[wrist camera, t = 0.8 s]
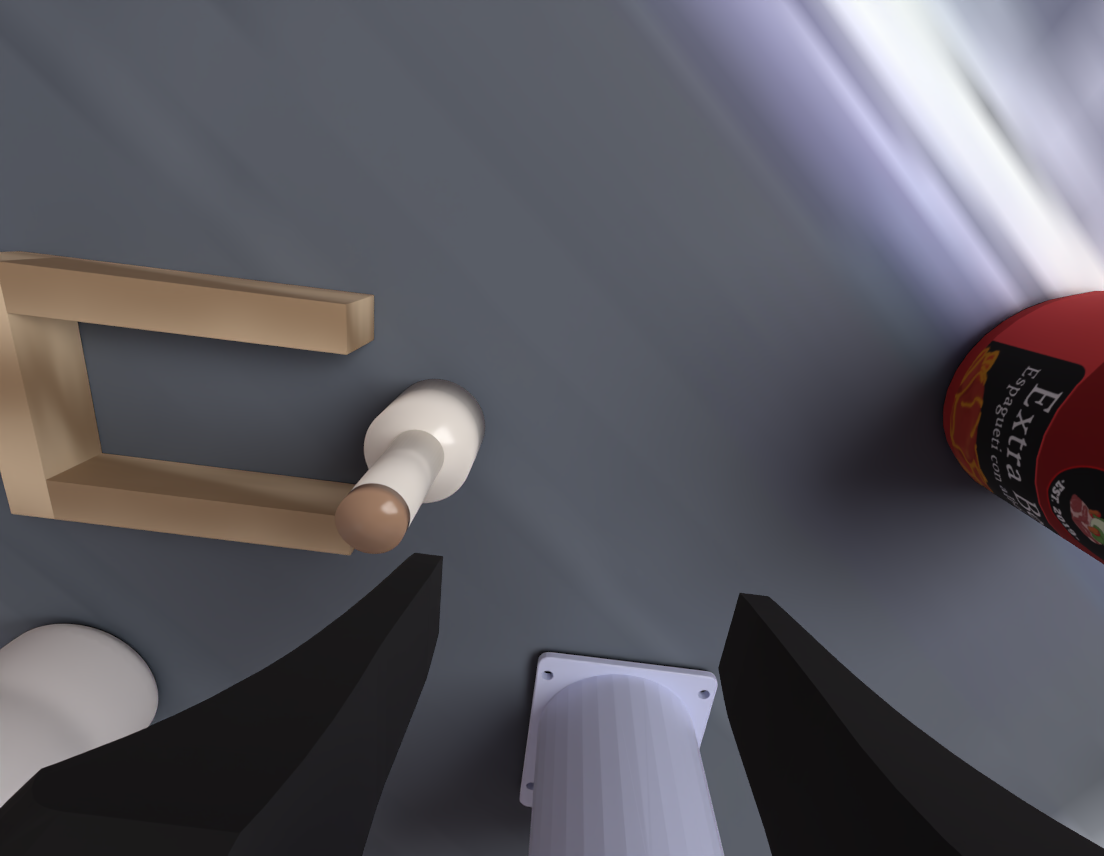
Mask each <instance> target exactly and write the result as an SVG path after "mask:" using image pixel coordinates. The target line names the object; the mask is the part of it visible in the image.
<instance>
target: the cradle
mask: <svg viewBox="0 0 1104 856" xmlns="http://www.w3.org/2000/svg"><path fill="white" fill-rule="evenodd" d="M77 321H78V322H86V323H95V324H103V325H111V326H119V327H127V328H135V329H143V330H151V331H159V332H167V333H175V334H184V335H192V336H200V337H208V338H216V339H224V340H232V341H240V342H248V343H256V344H264V345H273V346H281V347H289V348H297V349H305V350H313V351H321V352H329V353H337V354H345V355H347V354H349V353H351V352H353V351H354V350H356V349H358V348H360V347H362V346H363V345H365V344H367V343H369V342H371V341H372V340H374V295H369V294H361V293H353V292H345V291H337V290H329V289H321V288H313V287H305V286H297V285H288V284H280V283H272V282H264V281H256V280H248V279H240V278H232V277H224V276H216V275H208V274H200V273H192V272H183V271H175V270H167V269H159V268H151V267H143V266H135V265H127V264H119V263H111V262H103V261H95V260H87V259H78V258H70V257H62V256H54V255H46V254H38V253H30V252H22V251H16V252H0V472H1V475H2V479H3V483H4V487H5V491H6V495H7V498H8V502H9V506H10V510H11V514H18V515H26V516H34V517H42V518H50V519H59V520H67V521H75V522H83V523H91V524H99V525H107V526H116V527H124V528H132V529H140V530H148V531H156V532H164V533H173V534H181V535H189V536H197V537H205V538H213V539H221V540H230V541H238V542H246V543H254V544H262V545H270V546H279V547H287V548H295V549H303V550H311V551H319V552H327V553H336V554H344V555H351V553H352V552H353V550H354V549H355V548H353V547H351V546H350V545H349V544H347V543H346V542H345V541H344V540H343V539H342V537H341V536H340V534H339V532H338V530H337V528H336V524H335V513H336V510H337V507H338V506H339V504H340V503H341V502H342V500H343V499H344V498H345V497H346V496H347V495H348V493H349V492H350V491H351V490H352V489H353V487H354V486H355V485H356V484H349V483H341V482H333V481H324V480H316V479H308V478H300V477H292V476H284V475H276V474H267V473H259V472H251V471H243V470H235V469H227V468H219V467H211V466H202V465H194V464H186V463H178V462H170V461H162V460H154V459H146V458H137V457H129V456H121V455H113V454H105V453H102V450H101V445H100V439H99V434H98V429H97V423H96V418H95V412H94V407H93V402H92V396H91V391H90V386H89V380H88V375H87V370H86V364H85V359H84V354H83V348H82V343H81V338H80V332H79V327H78V322H77Z"/></svg>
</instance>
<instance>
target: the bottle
mask: <svg viewBox="0 0 1104 856" xmlns="http://www.w3.org/2000/svg"><path fill="white" fill-rule="evenodd" d="M484 434H485V419H484V415H483V412H482V410H481V407H480V405H479V404H478V402H477V401H476V399H475V398H474V397H473V396H472V395H471V394H470V393H469V392H468V391H467V390H466V389H464V388H463V387H461V386H459V385H457V384H455V383H453V382H450V381H447V380H441V379H428V380H423V381H420V382H417V383H415V384H413V385H411V386H410V387H408V388H407V389H406V390H405V391H404V392H403V393H401V394H400V395H399V396H398V397H397V398H396V399H395V400H394V401H393V402H392V403H391V404H390V405H389V406H388V407H387V408H386V409H385V410H384V411H383V412H382V413H381V414H380V415H378V416H377V417H376V418H375V419H374V421H373V422H372V423H371V425H370V427H369V428H368V431H367V433H366V436H365V441H364V456H365V460H366V463H367V466H368V469H369V470H368V471H367V472H366V473H365V475H364V476H363V477H362V478H361V479H360V480H359V482H358V483H357V484H356V485H355V486H354V487H353V489H352V490H351V491H350V492H349V493H348V495H347V496H346V497H345V498H344V499H343V500H342V502H341V503H340V504H339V506H338V507H337V510H336V513H335V524H336V528H337V530H338V532H339V534H340V536H341V537H342V539H343V540H344V541H345V542H346V543H347V544H349V545H350V546H351V547H353V548H355V549H356V550H359V551H361V552H365V553H370V554H380V553H384V552H388V551H390V550H392V549H393V548H395V547H396V546H397V545H398V544H399V543H400V541H401V540H402V538H403V536H404V534H405V533H406V531H407V529H408V527H409V525H410V524H411V522H412V520H413V518H414V516H415V515H416V513H417V511H418V509H419V507H420V506H421V504H422V503H431V502H436V501H439V500H442V499H445V498H447V497H449V496H450V495H452V494H453V493H455V492H456V491H457V490H458V489H459V488H460V487H461V486H462V485H463V483H464V482H465V480H466V478H467V476H468V474H469V472H470V469H471V467H472V465H473V462H474V460H475V458H476V455H477V453H478V451H479V448H480V446H481V444H482V441H483V438H484Z"/></svg>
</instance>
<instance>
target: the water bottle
mask: <svg viewBox="0 0 1104 856" xmlns="http://www.w3.org/2000/svg"><path fill="white" fill-rule="evenodd" d="M157 707H158V689H157V685H156V681H155V679H154V676H153V674H152V672H151V670H150V668H149V667H148V665H147V664H146V662H145V661H144V660H143V659H142V658H141V656H140V655H139V654H138V653H137V652H136V651H135V650H133V649H132V648H131V647H130V646H129V645H127V644H126V643H124V642H123V641H121V640H120V639H118V638H116V637H114V636H113V635H111V634H109V633H106V632H104V631H101V630H98V629H95V628H92V627H88V626H83V625H76V624H51V625H45V626H41V627H37V628H34V629H32V630H29V631H27V632H25V633H23V634H22V635H20V636H19V637H17V638H15V639H14V640H12V641H11V642H10V643H8V644H7V645H6V646H4V647H3V648H1V649H0V808H1V807H2V806H3V805H4V804H5V803H6V802H7V801H8V800H9V799H10V798H11V797H12V796H13V795H14V794H15V793H16V792H17V791H18V790H19V789H20V788H21V787H22V786H23V785H24V784H25V783H26V782H27V781H28V780H29V779H30V778H32V777H33V776H34V775H35V774H36V773H37V772H38V771H39V770H40V769H41V768H44V767H47V766H50V765H52V764H55V763H58V762H61V761H63V760H66V759H69V758H71V757H74V756H76V755H79V754H82V753H84V752H87V751H89V750H92V749H95V748H97V747H100V746H102V745H105V744H107V743H110V742H113V741H115V740H118V739H120V738H123V737H125V736H128V735H130V734H133V733H135V732H137V731H140V730H142V729H145V728H147V727H148V726H149V725H150V723H151V722H152V720H153V718H154V716H155V714H156V711H157Z"/></svg>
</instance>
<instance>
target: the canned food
mask: <svg viewBox="0 0 1104 856" xmlns="http://www.w3.org/2000/svg"><path fill="white" fill-rule="evenodd" d="M943 427H944V431H945V435H946V439H947V442H948V444H949V446H950V448H951V450H952V452H953V453H954V455H955V457H956V458H957V460H958V462H959V463H960V465H961V466H962V468H963V469H964V470H965V471H966V472H967V473H968V474H969V475H970V476H971V477H972V478H973V479H974V481H976V482H977V483H979V484H980V485H982V486H983V487H985V488H986V489H988V490H989V491H991V492H993V493H994V494H996V495H997V496H999V497H1000V498H1002V499H1003V500H1005V501H1007V502H1008V503H1010V504H1011V505H1013V506H1014V507H1016V508H1017V509H1019V510H1020V511H1022V512H1024V513H1025V514H1027V515H1028V516H1030V517H1031V518H1033V519H1034V520H1036V521H1038V522H1039V523H1041V524H1042V525H1044V526H1045V527H1047V528H1048V529H1050V530H1051V531H1053V532H1055V533H1056V534H1058V535H1059V536H1061V537H1062V538H1064V539H1065V540H1067V541H1069V542H1070V543H1072V544H1073V545H1075V546H1076V547H1078V548H1079V549H1081V550H1082V551H1084V552H1086V553H1087V554H1089V555H1090V556H1092V557H1093V558H1095V559H1096V560H1098V561H1099V562H1101V563H1103V564H1104V291H1093V292H1088V293H1082V294H1077V295H1072V296H1067V297H1062V298H1057V299H1052V300H1048V301H1045V302H1043V303H1040V304H1037V305H1035V306H1032V307H1029V308H1027V309H1025V310H1023V311H1021V312H1019V313H1017V314H1016V315H1014V316H1012V317H1010V318H1008V319H1006V320H1005V321H1003V322H1002V323H1001V324H999V325H998V326H997V327H995V328H994V329H993V330H992V331H990V332H989V333H988V334H986V335H985V336H984V337H983V338H982V339H981V340H980V341H979V342H978V343H977V344H976V345H975V346H974V347H973V348H972V350H971V351H970V352H969V353H968V354H967V356H966V357H965V359H964V360H963V361H962V363H961V364H960V366H959V367H958V369H957V370H956V372H955V374H954V376H953V379H952V381H951V383H950V385H949V387H948V390H947V394H946V399H945V403H944V407H943Z"/></svg>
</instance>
